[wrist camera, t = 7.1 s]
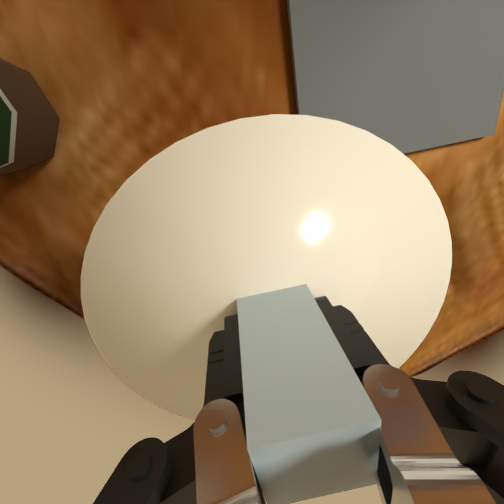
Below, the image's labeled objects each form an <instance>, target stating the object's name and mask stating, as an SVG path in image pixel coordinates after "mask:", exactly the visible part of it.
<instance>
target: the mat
mask: <svg viewBox="0 0 504 504" xmlns="http://www.w3.org/2000/svg"><path fill="white" fill-rule="evenodd" d="M287 8H288V19H289V30H290V41H291V52H292V63H293V74H294V85H295V96H296V107H297V115H310V116H315V117H321V118H326V119H332V120H337V121H341V122H343V123H346V124H349V125H352V126H355V127H358V128H361V129H363V130H366V131H368V132H370V133H372V134H374V135H375V136H377V137H379V138H381V139H383V140H384V141H386V142H388V143H390V144H392V145H393V146H394V147H395V148H396V149H398V150H399V151H400V152H401V153H403V154H405V153H409V152H414V151H419V150H424V149H428V148H433V147H438V146H443V145H447V144H452V143H457V142H462V141H466V140H471V139H476V138H480V137H485V136H490V135H494V132H495V128H496V124H497V119H498V115H499V110H500V106H501V102H502V97H503V93H504V0H287Z"/></svg>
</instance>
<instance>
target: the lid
mask: <svg viewBox="0 0 504 504" xmlns="http://www.w3.org/2000/svg"><path fill="white" fill-rule="evenodd" d="M451 265H452V241H451V236H450V230H449V225H448V220H447V217H446V215H445V212H444V209H443V207H442V204H441V201H440V199H439V197H438V196H437V194H436V192H435V191H434V189H433V187H432V185H431V184H430V182H429V180H428V179H427V178H426V177H425V176H424V174H423V173H422V172H421V171H420V170H419V169H418V167H417V166H416V165H415V164H414V163H413V162H412V161H411V160H410V159H409V158H408V157H406V156H405V155H404V154H403V153H401V152H400V151H399V150H398V149H396V148H395V147H394V146H393V145H392V144H390V143H388V142H386V141H384V140H383V139H381V138H379V137H377V136H375V135H374V134H372V133H370V132H368V131H366V130H363V129H361V128H358V127H355V126H352V125H349V124H346V123H343V122H341V121H337V120H332V119H326V118H321V117H315V116H310V115H284V114H272V115H264V116H257V117H249V118H241V119H237V120H234V121H230V122H227V123H223V124H220V125H216V126H213V127H209V128H206V129H204V130H202V131H200V132H197V133H195V134H193V135H191V136H189V137H186V138H184V139H182V140H180V141H178V142H176V143H174V144H173V145H171V146H170V147H168V148H166V149H165V150H163V151H162V152H160V153H159V154H157V155H156V156H154V157H153V158H151V159H150V160H148V161H147V162H146V163H145V164H144V165H143V166H142V167H140V168H139V169H138V170H137V171H136V172H135V173H134V174H133V175H132V176H130V177H129V178H128V179H127V180H126V181H125V182H124V183H123V185H122V186H121V187H120V188H119V190H118V191H117V192H116V193H115V195H114V196H113V197H112V198H111V200H110V201H109V202H108V203H107V205H106V207H105V208H104V210H103V212H102V214H101V215H100V217H99V219H98V221H97V223H96V224H95V226H94V228H93V231H92V233H91V236H90V239H89V242H88V245H87V247H86V250H85V254H84V260H83V265H82V271H81V303H82V308H83V314H84V319H85V322H86V325H87V328H88V331H89V333H90V336H91V339H92V341H93V342H94V345H95V346H96V348H97V350H98V352H99V354H100V355H101V357H102V358H103V360H104V361H105V362H106V364H107V365H108V366H109V367H110V369H111V370H112V371H113V373H114V374H116V376H117V377H119V378H120V380H121V381H123V382H124V383H125V384H126V385H127V386H128V387H130V388H131V389H132V390H133V391H135V392H136V393H137V394H138V395H140V396H141V397H143V398H144V399H146V400H148V401H149V402H151V403H153V404H154V405H156V406H158V407H161V408H163V409H165V410H167V411H169V412H171V413H174V414H176V415H179V416H182V417H185V418H188V419H192V420H195V419H196V417H197V415H198V413H199V412H200V411H201V409H202V408H203V405H204V397H205V384H206V372H207V365H208V364H207V359H208V346H209V341H210V339H211V337H212V335H213V334H214V332H216V331H221V330H224V318H225V317H227V316H232V315H236V314H238V325H239V339H240V353H241V367H242V381H243V395H244V409H245V424H246V438H247V450H248V453H249V455H250V458H251V461H252V464H253V467H254V469H255V472H256V475H257V478H258V480H259V483H260V486H261V489H262V491H263V494H264V497H265V500H266V502H267V504H289V503H294V502H298V501H302V500H307V499H311V498H316V497H320V496H325V495H329V494H334V493H338V492H342V491H347V490H352V489H356V488H360V487H365V486H369V485H374V484H376V480H375V474H376V470H377V469H378V457H379V445H380V442H379V439H378V435H379V427H381V421H382V420H381V418H380V416H379V414H378V413H377V411H376V409H375V407H374V405H373V404H372V402H371V400H370V398H369V396H368V394H367V393H366V391H365V389H364V387H363V385H362V384H361V382H360V380H359V378H358V376H357V375H356V373H355V371H354V369H353V367H352V366H351V364H350V362H349V360H348V358H347V357H346V355H345V353H344V351H343V349H342V348H341V346H340V344H339V342H338V340H337V339H336V337H335V335H334V333H333V331H332V330H331V328H330V326H329V324H328V322H327V321H326V319H325V317H324V315H323V313H322V311H321V310H320V308H319V306H318V304H317V302H316V301H315V299H314V298H316V297H321V296H326V297H327V298H328V300H329V301H330V303H331V304H332V306H338V305H342V306H343V307H345V308H347V309H348V310H350V311H351V312H352V313H353V315H354V316H355V317H356V319H357V320H358V322H359V323H360V324H361V326H362V327H363V328H364V331H366V333H367V334H368V335H369V337H370V338H371V339H372V341H373V342H374V344H375V345H376V346H377V348H378V349H379V350H380V352H381V353H382V355H383V356H384V357H385V359H386V360H387V361H388V363H389V364H390V365H391V366H393V367H396V368H399V367H400V366H401V365H402V364H403V363H404V362H405V361H406V360H407V359H408V358H409V357H410V356H411V355H412V353H413V352H414V351H415V350H416V349H417V348H418V346H419V345H420V344H421V342H422V341H423V339H424V338H425V337H426V335H427V334H428V332H429V330H430V329H431V327H432V325H433V323H434V322H435V320H436V318H437V316H438V314H439V311H440V309H441V306H442V304H443V302H444V299H445V295H446V292H447V288H448V285H449V281H450V273H451Z"/></svg>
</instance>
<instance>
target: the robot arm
mask: <svg viewBox="0 0 504 504" xmlns="http://www.w3.org/2000/svg"><path fill="white" fill-rule="evenodd" d="M314 299H315V301H316V302H317V304H318V306H319V308H320V310H321V311H322V313H323V315H324V317H325V319H326V321H327V322H328V324H329V326H330V328H331V330H332V331H333V333H334V335H335V337H336V339H337V340H338V342H339V344H340V346H341V348H342V349H343V351H344V353H345V355H346V357H347V358H348V360H349V362H350V364H351V366H352V367H353V369H354V371H355V373H356V375H357V376H358V378H359V380H360V382H361V384H362V385H363V387H364V389H365V391H366V393H367V394H368V396H369V398H370V400H371V402H372V404H373V405H374V407H375V409H376V411H377V413H378V414H379V416H380V418H381V420H382V421H381V427H379V435H378V439H379V442H380V445H379V457H378V469H377V470H376V474H375V480H376V483H377V487H378V490H379V493H380V497H381V500H382V503H383V504H504V385H502V384H500V383H498V382H497V381H495V380H493V379H491V378H489V377H487V376H485V375H482V374H479V373H476V372H471V371H457V372H455V373H453V374H451V375H450V376H449V378H448V381H447V382H440V381H430V380H420V379H415V378H411V377H409V376H408V375H407V374H405V373H404V372H403V371H401V370H400V369H398V368H396V367H393V366H391V365H390V364H389V363H388V361H387V360H386V359H385V357H384V356H383V355H382V353H381V352H380V350H379V349H378V348H377V346H376V345H375V344H374V342H373V341H372V339H371V338H370V337H369V335H368V334H367V333H366V331H364V328H363V327H362V326H361V324H360V323H359V322H358V320H357V319H356V317H355V316H354V315H353V313H352V312H351V311H350V310H348V309H347V308H345V307H343V306H342V305H338V306H332V304H331V303H330V301H329V300H328V298H327V297H326V296H321V297H316V298H314ZM207 364H208V365H207V372H206V384H205V397H204V405H203V408H202V409H201V411H200V412H199V413H198V415H197V417H196V419H195V422H194V423H193V424H192V425H191V427H189V428H188V429H187V430H185V431H184V432H182V433H180V434H179V435H177V436H175V437H174V438H172V439H170V440H169V441H167V442H165V443H163V442H162V441H161V440H159V439H158V438H146V439H144V440H141V441H139V442H138V443H136V444H135V445H134V446H132V447H131V448H130V449H129V450H128V452H127V453H126V454H125V455H124V456H123V458H122V459H121V461H120V462H119V464H118V465H117V467H116V469H115V470H114V472H113V473H112V475H111V476H110V478H109V480H108V481H107V483H106V484H105V486H104V487H103V489H102V490H101V492H100V494H99V495H98V497H97V498H96V500H95V501H94V503H93V504H266V501H265V497H264V494H263V491H262V489H261V486H260V483H259V480H258V478H257V475H256V472H255V469H254V467H253V464H252V461H251V458H250V455H249V453H248V450H247V438H246V424H245V409H244V395H243V381H242V367H241V353H240V339H239V325H238V314H236V315H232V316H227V317H225V318H224V330H221V331H216V332H214V334H213V335H212V337H211V339H210V341H209V346H208V359H207Z"/></svg>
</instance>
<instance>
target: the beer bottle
mask: <svg viewBox="0 0 504 504" xmlns="http://www.w3.org/2000/svg"><path fill="white" fill-rule="evenodd" d="M58 123H59V117H58V116H57V114H56V113H55V111H54V109H53V108H52V106H51V105H50V103H49V102H48V100H47V99H46V97H45V95H44V94H43V92H42V91H41V89H40V88H39V86H38V85H37V83H36V81H35V80H34V78H33V77H32V75H31V74H30V73H29V72H27V71H25V70H23V69H21V68H18V67H16V66H14V65H12V64H10V63H8V62H5V61H3V60H1V59H0V175H4V174H8V173H12V172H16V171H20V170H23V169H25V168H28V167H30V166H32V165H35V164H37V163H39V162H42V161H44V160H46V159H48V158H51V157H53V156H54V153H55V145H56V138H57V130H58Z"/></svg>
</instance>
